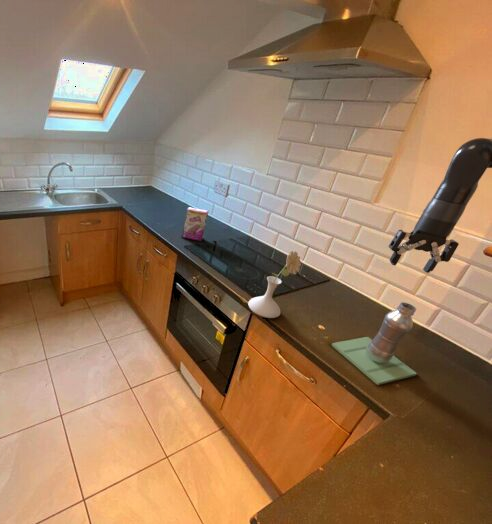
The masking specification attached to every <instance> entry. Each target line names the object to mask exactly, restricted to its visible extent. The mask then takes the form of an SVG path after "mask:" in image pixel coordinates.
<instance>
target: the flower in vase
mask: <svg viewBox="0 0 492 524" xmlns="http://www.w3.org/2000/svg"><path fill="white" fill-rule="evenodd" d="M301 262H302V261H301V256H299V254H298V252H297V251H294V250H291V251H290V252H289V254H287V257H286V261H285V263H286V264H285V265H284V267H283V268H282V269H281V270H280V272H278V274H277V273H275V272H271V275H269V276H267V277H266V280H267V289H266V291H265V293H264V295H260V296H255V297H252V298H250V299H249V301H248V302H247V304H248V305H247V306H248V307H249V309H250V311H252V312H253V314H255V315H257V316H259V317H261V318H264V319H265V318H266V319H276V318H278V317H279V316H280V315H281V308H280V307H279V304H277V303H276V301H275V300H274V299H273V295H274V292H275V290H276V289H277V287H278V286H279V285H281V284H283V281H282V280H281V278H279V277H280V275H281V274H282V276H283V277H288V276H289V275H290V274H291V275H297V273H299V272H300V269H301V266H302V263H301Z"/></svg>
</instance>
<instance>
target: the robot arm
mask: <svg viewBox="0 0 492 524" xmlns="http://www.w3.org/2000/svg"><path fill="white" fill-rule="evenodd" d="M487 169H492V138H487V137H478V138H472V139H470V140H468V141H466V142H464V143H463V144H461V146H459V147H458V149H457V150H456V152H454V154H453V157H452V159H451V161H450V163H449V164H448V167H447V169H446V172H445V175H444V177H443V180H442V181H441V183H439V186H438V187H437V189H436V191H435V192H434V195H433V196H432V197H431V199H430V201H428V203H427V205H426V206H425V208H423V210H422V213H421V215H420V217H419V218H418V219H417V221H416V223H415V224H414V225H415V226H414V228H413V230H412V231H411V232H407V231H404V230H403V229H398V230H397V232H396V233H395V235H394V236H393V238H392V240H391V241H390V243H389V244H388V248H389V249H390V250H391V251H392V255H391V256H390V258H389V262H390V264H391V266H396V265H397V264H398V262H399V261H400V259H401V257H402V254H405V253H406V252H409V251H412V250H416V251H422V252H426V253H429V254H430V257H431V258H429V259H428V260H427V262H426V263H425V265H424V267H423V268H422V270H423V272H424V273H427V274H429V273H430V272H433V271H434V270H435V268H436V266H437V265H438V264H439V263H440V262H444V263H448V262H450V260H452V257H453V255H454V254H455V252H456V251H457V249H458V247H459V242H458V241H456V240H455V239H453V238H451V239H447V238H448V237H449V236H451V235H450V234H451V233H452V231H453V230H454V228H455V227H456V225H457V224H458V223H459V220H460V219H461V217H462V216H463V214H464V212H465V211H466V208H467V206H468V204H469V202H470V201H471V199H472V197H473V196H474V194H475V193H476V191H477V189H478V187H479V181H481V179H482V177H483V176H484V174H485V172H486V171H487ZM407 238H408V240H406V239H407ZM403 240H406V241H404V242H403ZM442 246H444V248H443V250H442V252H441V253H440V249H439V248H440V247H442Z"/></svg>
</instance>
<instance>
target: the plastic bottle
mask: <svg viewBox="0 0 492 524" xmlns="http://www.w3.org/2000/svg"><path fill="white" fill-rule="evenodd" d="M416 311H417V308H416V307H415V306H414V305H412V304H410V303H408V302H400V304H399V305H398V306H397V307H396V309H395V310H392V311H388V313H386V314H385V316H384V318H383V321H382V323H381V326H380V328H379V330H378V332H377V333H376V335H375V336H374V337H373V339H372V341H371V342H370V343H369V344H368V345H367V347H366V354H367V356H368V357H369V358H370V359H371V360H373V361H375V362H377V363H380V364H384V363H388V362H389V361H390V360H391V359H392V356H394V354H395V351H396V348H397V347H398V345H399V343H400V342H401V341H402V340H403V338H404V337H405V336H406V335H407V334H408V333H409V332H410V331H411V330H412V329H413V324H414V322H413V317H412V316H414V315H415V312H416Z"/></svg>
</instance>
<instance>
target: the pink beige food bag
mask: <svg viewBox="0 0 492 524" xmlns="http://www.w3.org/2000/svg"><path fill="white" fill-rule="evenodd" d="M209 211H210V210H206V209H201V208H196V207H190V206H188V207H187V209H186V214H185V219H184V225H183V230H182V235H181V238H184V239H187V240H188V239H189V240H194V241H197V242H202V240H203V237H204V232H205V228H206V225H207V221H208V216H209Z"/></svg>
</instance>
